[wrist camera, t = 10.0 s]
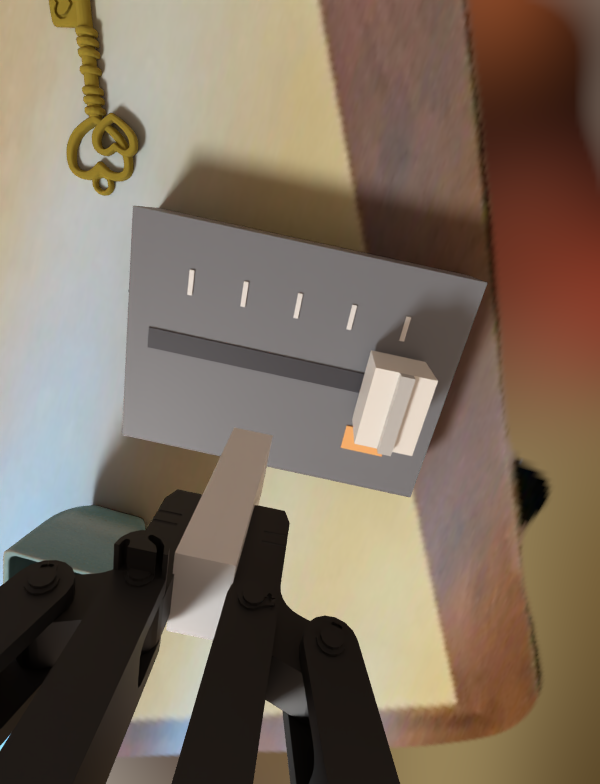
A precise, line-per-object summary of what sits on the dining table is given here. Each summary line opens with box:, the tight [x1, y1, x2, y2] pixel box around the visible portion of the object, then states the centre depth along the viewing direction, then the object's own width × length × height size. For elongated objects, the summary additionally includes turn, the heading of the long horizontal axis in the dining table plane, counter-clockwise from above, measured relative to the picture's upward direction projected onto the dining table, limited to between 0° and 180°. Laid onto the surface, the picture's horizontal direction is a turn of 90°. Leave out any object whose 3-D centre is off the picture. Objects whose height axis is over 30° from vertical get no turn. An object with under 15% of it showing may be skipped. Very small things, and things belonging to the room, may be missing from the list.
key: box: [49, 0, 138, 196], centre depth 27 cm, size 12×1×5 cm
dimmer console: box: [122, 206, 487, 497], centre depth 31 cm, size 16×22×4 cm
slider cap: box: [352, 350, 438, 456], centre depth 26 cm, size 5×4×4 cm
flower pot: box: [3, 505, 145, 584], centre depth 36 cm, size 9×9×9 cm
